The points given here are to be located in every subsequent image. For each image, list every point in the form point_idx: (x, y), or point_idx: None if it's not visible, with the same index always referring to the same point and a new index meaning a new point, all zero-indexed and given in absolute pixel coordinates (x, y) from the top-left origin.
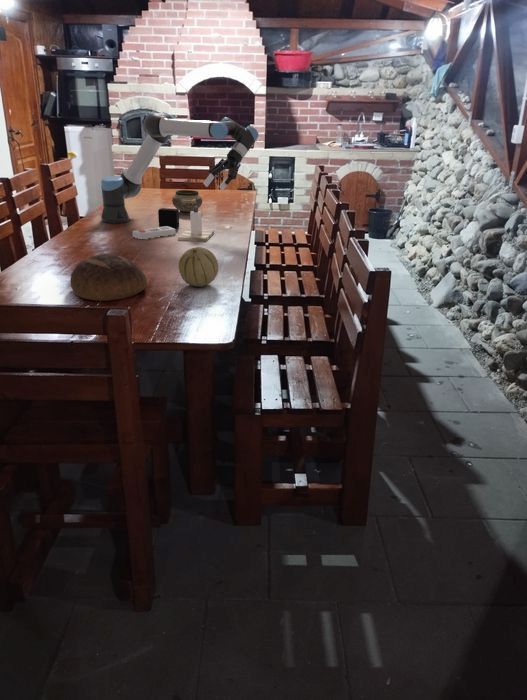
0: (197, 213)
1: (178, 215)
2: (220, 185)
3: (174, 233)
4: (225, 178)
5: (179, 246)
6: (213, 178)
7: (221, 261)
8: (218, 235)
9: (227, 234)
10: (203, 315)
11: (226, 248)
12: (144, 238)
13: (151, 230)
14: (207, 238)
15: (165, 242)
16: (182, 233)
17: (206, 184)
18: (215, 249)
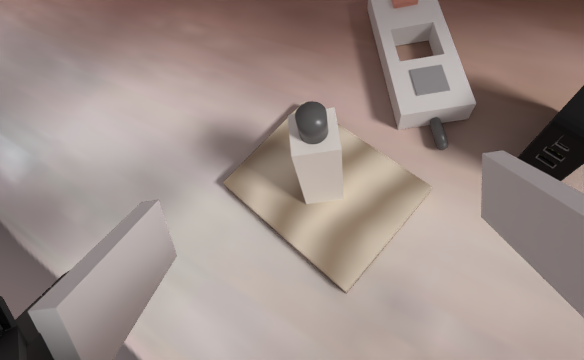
0: (289, 134)
1: (574, 161)
2: (141, 210)
3: (397, 121)
4: (75, 279)
5: (222, 84)
6: (580, 314)
7: (4, 127)
8: (299, 294)
9: (295, 351)
10: None
11: (98, 210)
12: (370, 17)
13: (437, 41)
14: (244, 202)
15: (297, 63)
16: (355, 136)
17: (490, 195)
18: (115, 170)
